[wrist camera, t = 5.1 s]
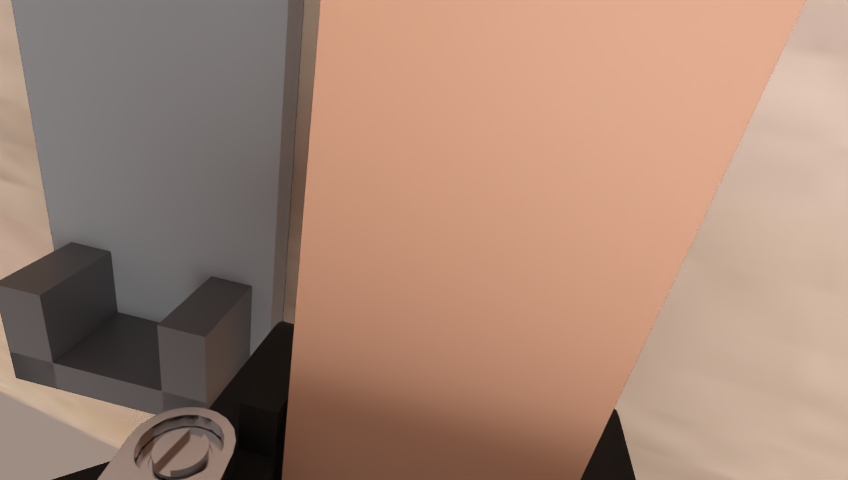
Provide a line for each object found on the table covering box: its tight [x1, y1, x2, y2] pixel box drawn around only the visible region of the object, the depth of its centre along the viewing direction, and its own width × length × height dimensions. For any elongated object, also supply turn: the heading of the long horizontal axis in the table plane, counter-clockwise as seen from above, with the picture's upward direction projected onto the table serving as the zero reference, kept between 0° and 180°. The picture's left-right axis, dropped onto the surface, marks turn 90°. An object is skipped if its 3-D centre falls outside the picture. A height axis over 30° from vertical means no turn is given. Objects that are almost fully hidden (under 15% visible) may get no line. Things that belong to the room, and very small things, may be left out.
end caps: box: [0, 242, 252, 415], centre depth 18 cm, size 25×9×4 cm, turn 170°
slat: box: [282, 0, 806, 480], centre depth 9 cm, size 20×4×5 cm, turn 170°
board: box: [11, 0, 304, 356], centre depth 21 cm, size 27×11×2 cm, turn 170°
